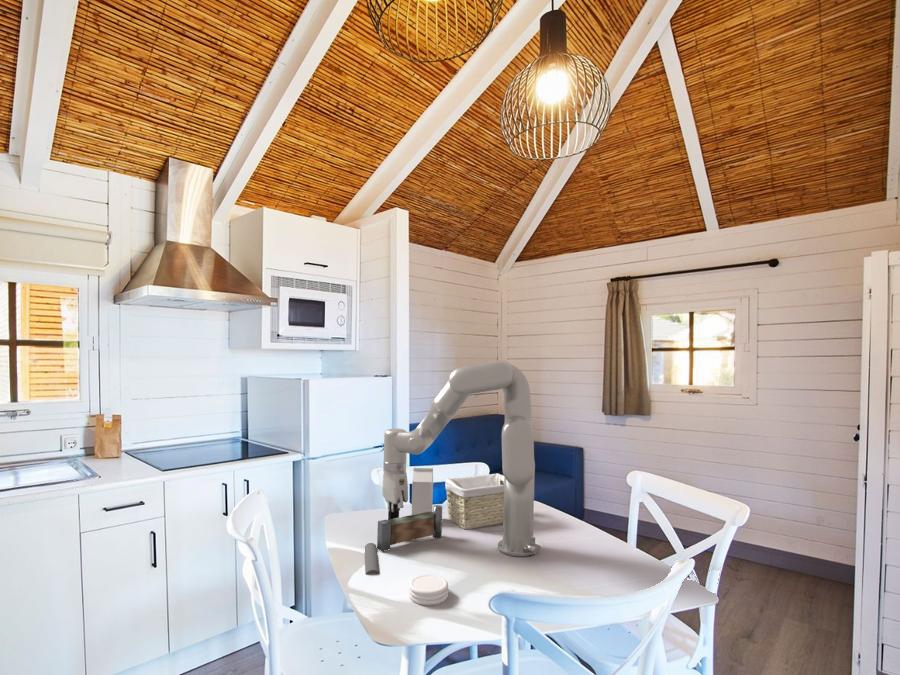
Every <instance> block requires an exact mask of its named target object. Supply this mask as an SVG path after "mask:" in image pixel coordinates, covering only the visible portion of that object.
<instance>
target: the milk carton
mask: <svg viewBox="0 0 900 675" xmlns="http://www.w3.org/2000/svg"><path fill="white" fill-rule="evenodd" d="M412 472H413V473H412V484H411V486H412V487H411V515H414V514H420V513H425V512H430V511H432V512H433V497H434V496H433V495H434V494H433V492H434V468H433V467H432V468H431V467H430V468H429V467H413V469H412Z"/></svg>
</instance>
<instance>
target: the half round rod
mask: <svg viewBox="0 0 900 675" xmlns="http://www.w3.org/2000/svg"><path fill="white" fill-rule="evenodd" d="M376 546H377V544H376V543H374V542H369V543H367V544H365V545H364V547H365V552H364V571H365V575H375V574H376V575H377V574H380V564H379V563H378V562H379V554H378V555H377V552H378V549H377V548H376Z"/></svg>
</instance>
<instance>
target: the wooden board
mask: <svg viewBox="0 0 900 675" xmlns="http://www.w3.org/2000/svg"><path fill="white" fill-rule="evenodd" d="M389 521H390V522H391V540H390V546H393V545H396V544H400V543H406V542H409V541H413V540H417V539H423V538H426V537H429V536H433V535H434V512H433V510H432V511H430V512H425V513H420V514H414V515H412V514H410V515H406V516H405V515H404V516H399V518H394V519H389Z"/></svg>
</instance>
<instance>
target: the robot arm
mask: <svg viewBox="0 0 900 675" xmlns="http://www.w3.org/2000/svg"><path fill="white" fill-rule="evenodd" d="M498 390H502V392H503V399H504V400H503V406H504V423H503V426H502V429H501V459H502V462H501V463H502V466H501V467H502V475H503V476H504V483H503V485H504V506H503V524H502V539H501V540H500V541H498V542H497V549H498V551H500V552H501V553H502V554H505V555H508V556H511V557H529V555H531V556H533V554H534V555H536V554H538V552H539V550H540V549H541V545H540V544H538V543H536V537H535V536H534V514H535V513H534V511H535V510H534V506H535V505H534V503H535V502H534V500H535V474H536V472H535V471H536V462H535V443H534V427H533V418H532V417H533V416H532V398H531V397H532V396H531V388H530V385H529V382H528V379H527V377H526V376H525V374H524V373H523V372H522V371H521V370H520V369H519V368H518V367H517V366H515V365H513V364H511V363H510V362H507V361H505V360H497V361H494V362H488V363H483V364H482V363H481V364H477V365H470V366H459V367H457V368H455V369H453V371H452V372H451V373H450V374H449V377H448V380H447V382H446V383H445V384H444V386H443V387H442V388H441V390H440V391H439V392H438V393H437V395H436V396H435V397H434V399H433V400H432V402H431V406H430V409H429V410H428V412H427V414H426V415H425V416H424V418H423V419H422V420H421V422H420V423H419V424H418V425H417V427H416V428H415V429H413V430H411V431H407V430H405V429H403V428H388V429H386V430H385V431H384V434H383V435H384V436H383V437H384V438H383V476H382V486H381V490H382V497H383V499H384V501H385V502H386V504H387V511H388V512H387V513H388V514H387V520H388V521H389V519H394V518H399V517H400V511H401V509H404V506H405V505H404V503H408V500H409V484H408V483H409V482H408V476H407V474H408V473H407V454H411V455H420V454H423V452H425V451H426V450H427V449H428V448H429V447H430V446H431V445H433V443H434V441H435V440H436V439H437V438H438V436H439V435H440V434H441V433H442V431H443V430H444V428H445V427H446V426H447V424H448V423H449V422H450V421H452V419H453V418H454V416H456V414H457V412H459V410H460V408H461V407H462V406H463V404H464V403H465V402H466V401H467V400H468V399H469V397H470V396H471V394H479V393H484V392H490V391H491V392H492V391H498Z"/></svg>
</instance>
